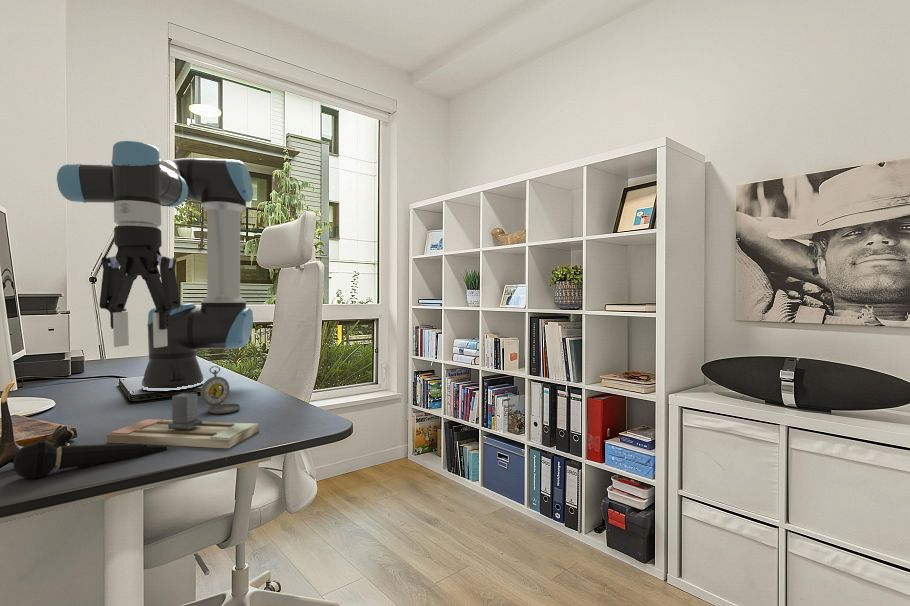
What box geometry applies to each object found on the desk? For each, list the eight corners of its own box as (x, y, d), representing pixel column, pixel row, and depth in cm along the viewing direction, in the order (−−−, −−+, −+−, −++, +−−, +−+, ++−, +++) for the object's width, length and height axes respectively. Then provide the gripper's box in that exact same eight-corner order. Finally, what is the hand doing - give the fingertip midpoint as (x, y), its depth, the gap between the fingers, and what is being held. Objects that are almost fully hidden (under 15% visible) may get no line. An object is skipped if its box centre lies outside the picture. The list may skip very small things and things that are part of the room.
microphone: (161, 465, 86) (9, 482, 72) (163, 432, 87) (14, 443, 74) (170, 464, 82) (11, 482, 69) (171, 429, 84) (16, 440, 70)
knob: (183, 422, 94) (182, 392, 94) (202, 423, 94) (201, 393, 94) (168, 428, 90) (167, 397, 90) (188, 429, 90) (187, 397, 90)
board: (148, 426, 99) (148, 417, 98) (258, 431, 96) (258, 421, 95) (106, 442, 89) (106, 432, 89) (228, 448, 86) (228, 437, 86)
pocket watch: (232, 415, 107) (231, 370, 107) (194, 415, 107) (193, 370, 107) (247, 405, 116) (247, 364, 115) (212, 405, 116) (211, 364, 115)
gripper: (72, 224, 89) (75, 347, 90) (173, 223, 87) (176, 350, 88) (106, 229, 97) (109, 343, 98) (200, 228, 94) (202, 344, 95)
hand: (140, 346), depth 93 cm, fingers open, 8 cm apart
